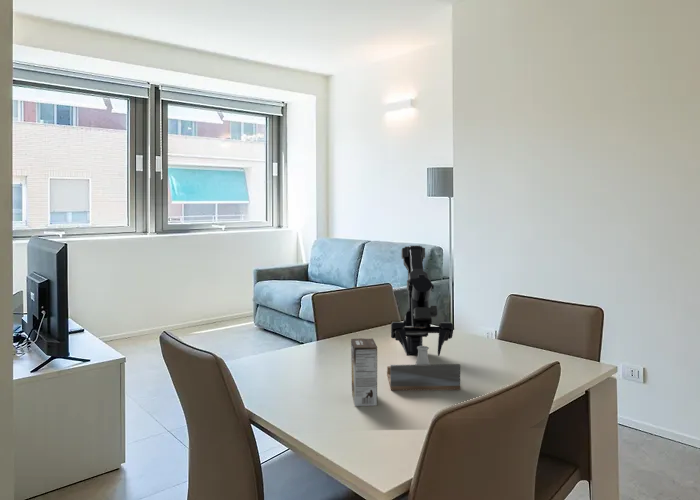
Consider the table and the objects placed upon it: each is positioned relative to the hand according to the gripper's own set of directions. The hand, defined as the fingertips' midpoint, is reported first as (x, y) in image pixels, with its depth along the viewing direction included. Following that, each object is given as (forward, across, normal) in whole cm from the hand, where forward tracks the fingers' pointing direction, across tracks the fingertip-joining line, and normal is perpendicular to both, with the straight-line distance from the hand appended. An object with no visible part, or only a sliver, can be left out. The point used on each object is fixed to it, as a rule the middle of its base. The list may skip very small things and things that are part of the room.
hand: (423, 355), depth 155 cm
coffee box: (+16, -17, -3) cm, 23 cm away
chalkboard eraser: (+5, 0, +7) cm, 9 cm away
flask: (+5, 0, +6) cm, 8 cm away
